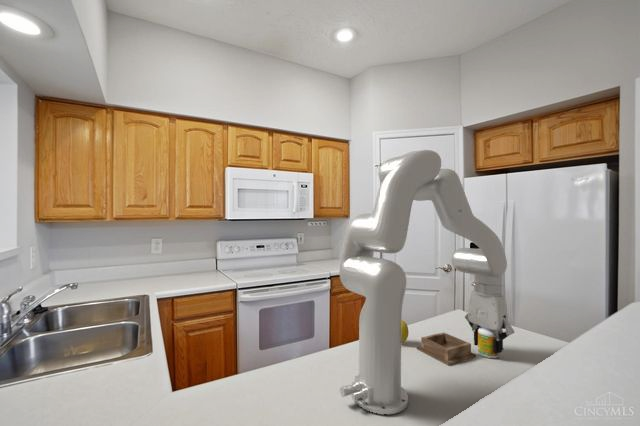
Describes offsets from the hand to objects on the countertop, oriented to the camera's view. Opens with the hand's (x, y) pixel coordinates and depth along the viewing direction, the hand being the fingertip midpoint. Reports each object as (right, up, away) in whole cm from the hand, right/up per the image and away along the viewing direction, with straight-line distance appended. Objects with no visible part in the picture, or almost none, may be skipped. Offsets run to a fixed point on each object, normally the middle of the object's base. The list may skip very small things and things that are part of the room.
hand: (487, 347), depth 90 cm
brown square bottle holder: (-13, -2, +1) cm, 13 cm away
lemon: (-25, -2, +8) cm, 26 cm away
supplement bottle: (0, -2, 0) cm, 2 cm away
